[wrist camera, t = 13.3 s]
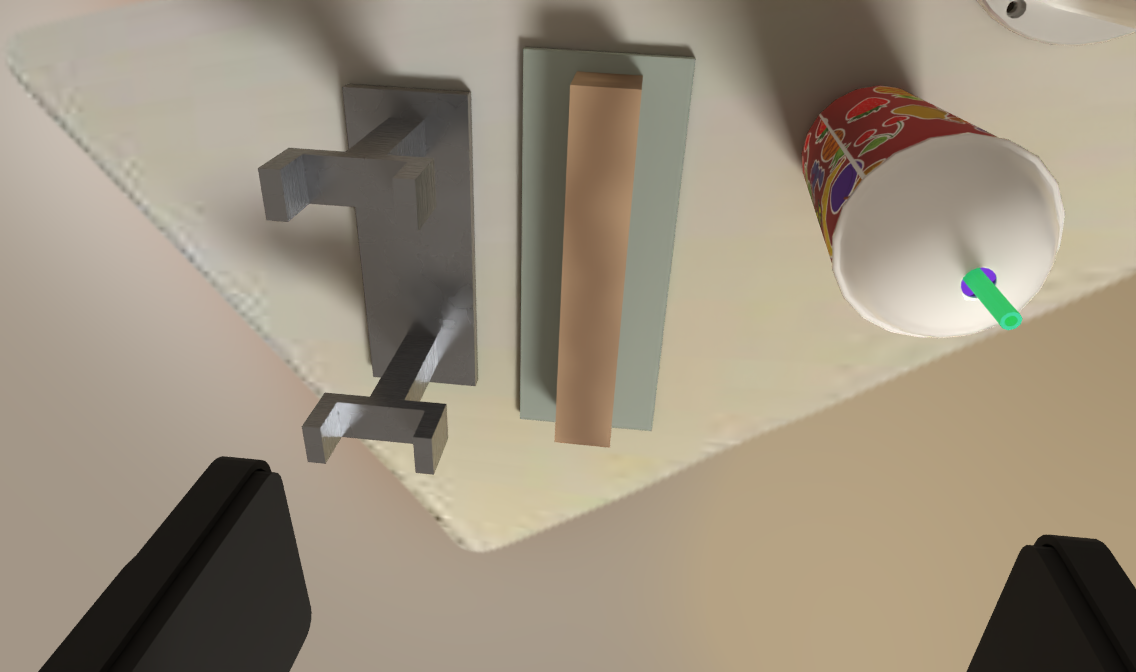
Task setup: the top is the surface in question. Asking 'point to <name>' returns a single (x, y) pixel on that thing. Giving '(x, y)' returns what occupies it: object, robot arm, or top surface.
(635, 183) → the mat
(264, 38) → the top surface
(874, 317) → the smoothie
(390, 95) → the stand
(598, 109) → the rail
